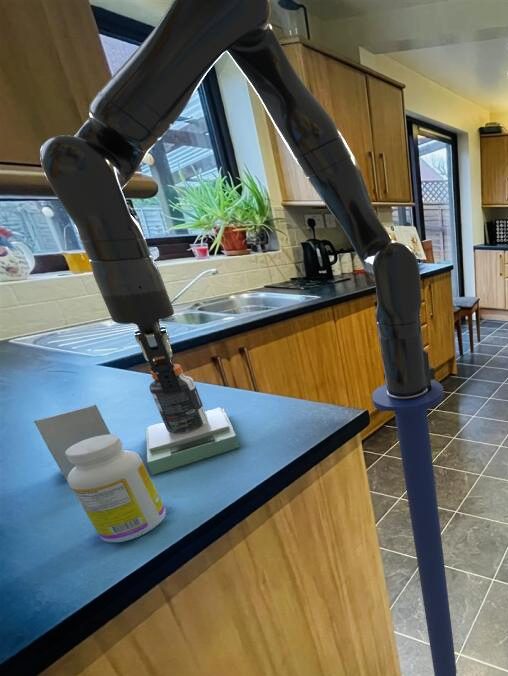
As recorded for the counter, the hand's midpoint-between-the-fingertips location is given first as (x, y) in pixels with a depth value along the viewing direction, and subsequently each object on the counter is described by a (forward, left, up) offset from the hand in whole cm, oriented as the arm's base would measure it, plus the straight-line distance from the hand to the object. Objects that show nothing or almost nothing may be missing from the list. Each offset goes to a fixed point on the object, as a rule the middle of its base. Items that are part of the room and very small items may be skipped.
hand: (171, 384), depth 68 cm
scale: (0, +1, -11) cm, 11 cm away
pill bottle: (0, 0, -8) cm, 8 cm away
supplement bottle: (+8, +21, -11) cm, 26 cm away
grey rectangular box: (+13, -1, -11) cm, 17 cm away
